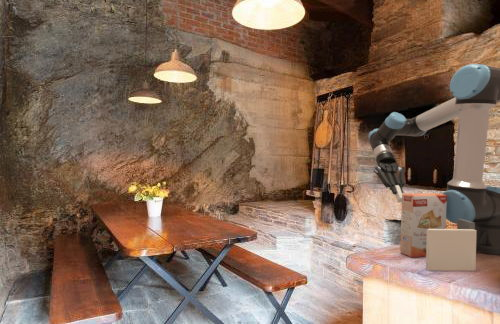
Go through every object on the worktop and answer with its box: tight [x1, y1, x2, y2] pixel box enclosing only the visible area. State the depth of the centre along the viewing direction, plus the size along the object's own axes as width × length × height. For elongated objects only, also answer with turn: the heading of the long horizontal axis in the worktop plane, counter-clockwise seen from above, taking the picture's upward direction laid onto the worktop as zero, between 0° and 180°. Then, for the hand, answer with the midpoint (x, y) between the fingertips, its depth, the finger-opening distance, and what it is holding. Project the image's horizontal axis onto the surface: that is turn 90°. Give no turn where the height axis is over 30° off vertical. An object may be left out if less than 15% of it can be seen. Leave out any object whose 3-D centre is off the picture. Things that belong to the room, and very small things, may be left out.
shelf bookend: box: [425, 219, 477, 272], centre depth 104 cm, size 14×8×14 cm, turn 91°
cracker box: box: [399, 192, 447, 258], centre depth 117 cm, size 14×6×21 cm, turn 105°
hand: (400, 200), depth 133 cm, fingers closed
